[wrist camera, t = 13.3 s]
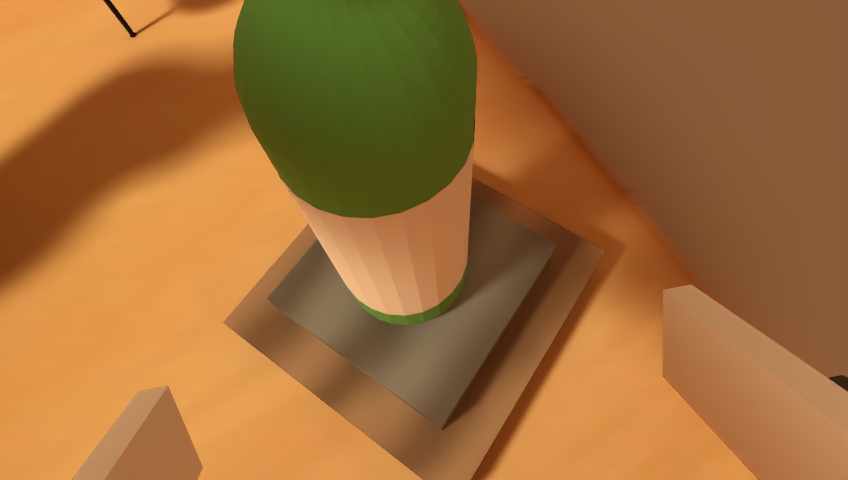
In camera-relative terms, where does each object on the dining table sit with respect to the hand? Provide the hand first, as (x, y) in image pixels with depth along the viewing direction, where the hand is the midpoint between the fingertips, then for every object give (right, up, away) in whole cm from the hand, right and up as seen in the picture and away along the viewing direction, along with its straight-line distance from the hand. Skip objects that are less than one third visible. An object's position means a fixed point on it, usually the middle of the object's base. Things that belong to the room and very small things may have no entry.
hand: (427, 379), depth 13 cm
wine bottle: (-1, +1, +19) cm, 20 cm away
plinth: (-1, -1, +25) cm, 25 cm away
